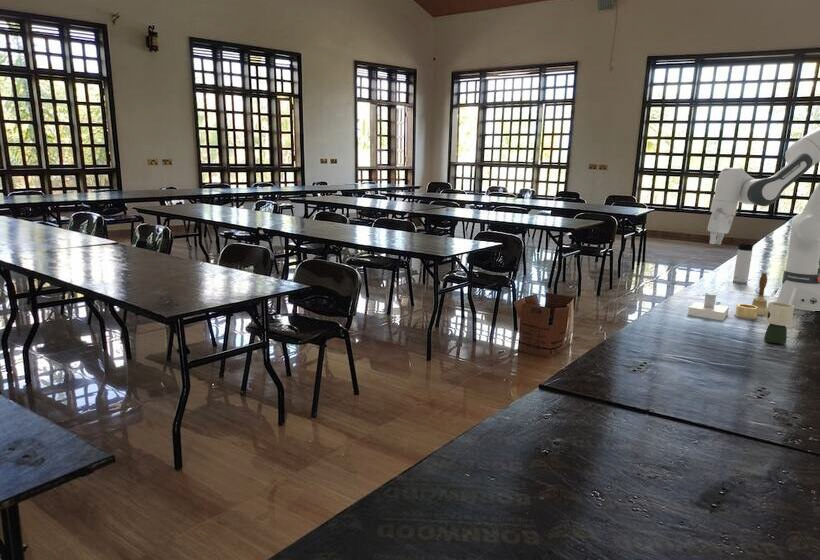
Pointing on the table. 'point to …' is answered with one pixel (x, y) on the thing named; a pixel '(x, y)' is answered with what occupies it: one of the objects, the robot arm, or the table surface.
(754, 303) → the hand bell
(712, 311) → the block
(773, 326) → the character mug
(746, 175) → the robot arm
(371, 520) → the table surface
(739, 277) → the travel mug
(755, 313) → the brass ring
